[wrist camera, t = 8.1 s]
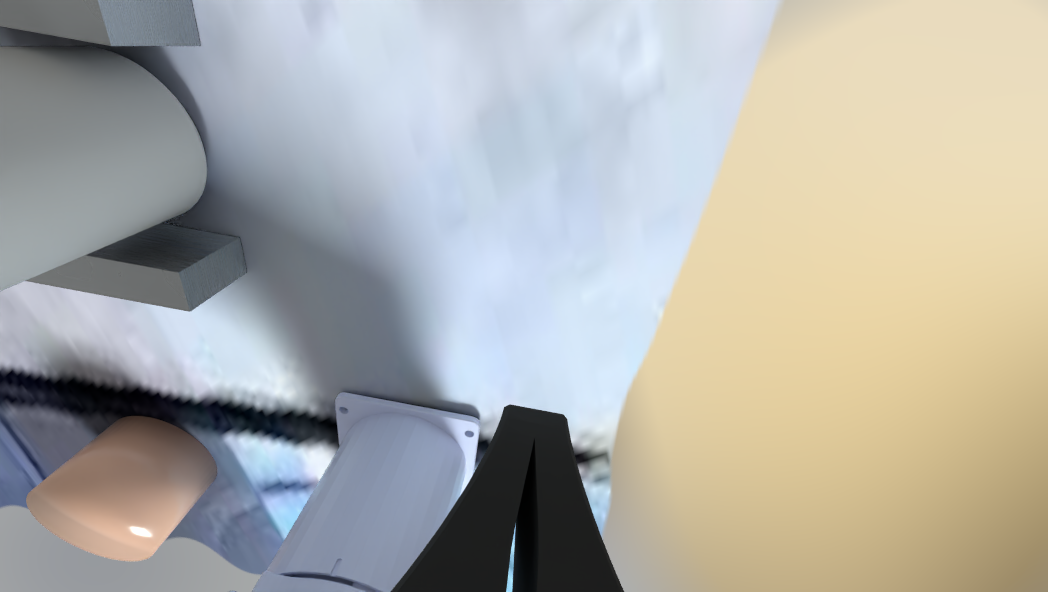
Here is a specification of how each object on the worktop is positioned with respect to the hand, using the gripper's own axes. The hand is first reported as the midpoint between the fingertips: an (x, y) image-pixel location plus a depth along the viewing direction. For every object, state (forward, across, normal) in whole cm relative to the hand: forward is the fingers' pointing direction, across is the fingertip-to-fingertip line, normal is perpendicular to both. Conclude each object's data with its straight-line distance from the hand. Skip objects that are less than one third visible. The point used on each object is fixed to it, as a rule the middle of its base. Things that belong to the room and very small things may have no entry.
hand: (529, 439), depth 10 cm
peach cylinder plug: (+10, +22, +19) cm, 31 cm away
